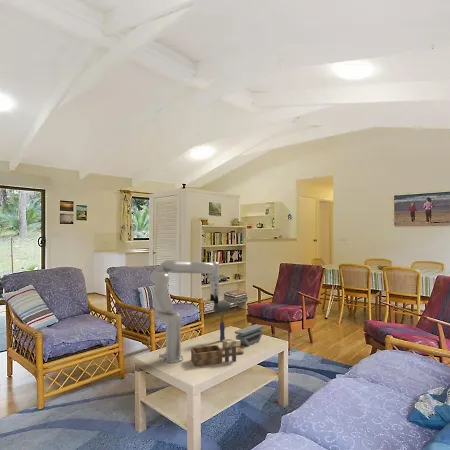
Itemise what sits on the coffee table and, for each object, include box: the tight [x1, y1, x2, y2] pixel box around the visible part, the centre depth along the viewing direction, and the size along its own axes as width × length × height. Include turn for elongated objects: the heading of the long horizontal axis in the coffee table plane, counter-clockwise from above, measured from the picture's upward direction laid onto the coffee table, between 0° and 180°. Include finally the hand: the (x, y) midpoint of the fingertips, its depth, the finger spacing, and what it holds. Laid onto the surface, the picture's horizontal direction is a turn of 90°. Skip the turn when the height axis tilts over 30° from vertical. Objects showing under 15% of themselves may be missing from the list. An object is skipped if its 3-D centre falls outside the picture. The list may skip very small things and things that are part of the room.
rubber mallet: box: [213, 301, 231, 342], centre depth 264 cm, size 12×8×30 cm, turn 131°
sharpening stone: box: [234, 324, 265, 347], centre depth 257 cm, size 25×8×11 cm, turn 137°
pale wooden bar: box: [223, 339, 242, 348], centre depth 222 cm, size 11×3×4 cm, turn 107°
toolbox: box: [190, 344, 237, 368], centre depth 223 cm, size 28×12×10 cm, turn 107°
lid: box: [219, 338, 245, 357], centre depth 238 cm, size 18×12×8 cm, turn 107°
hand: (214, 302), depth 248 cm, fingers open, 9 cm apart
